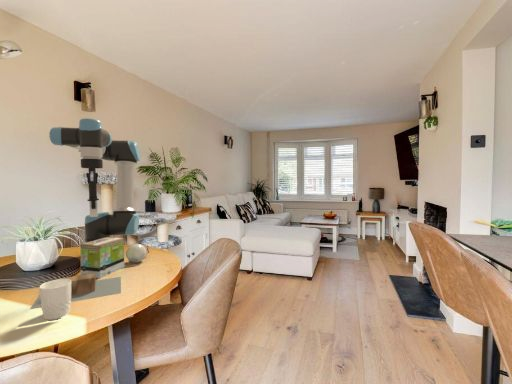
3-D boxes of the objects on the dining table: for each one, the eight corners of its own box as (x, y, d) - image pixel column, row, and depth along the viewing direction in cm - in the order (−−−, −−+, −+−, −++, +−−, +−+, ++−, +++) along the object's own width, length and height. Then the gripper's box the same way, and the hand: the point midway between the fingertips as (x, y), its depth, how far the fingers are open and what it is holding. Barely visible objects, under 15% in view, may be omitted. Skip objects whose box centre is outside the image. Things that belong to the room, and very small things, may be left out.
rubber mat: (120, 278, 113) (120, 276, 113) (121, 294, 97) (121, 292, 97) (43, 289, 101) (43, 288, 101) (29, 310, 85) (29, 309, 85)
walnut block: (95, 273, 103) (56, 279, 97) (94, 277, 98) (53, 283, 93) (95, 286, 103) (56, 292, 97) (94, 291, 98) (53, 297, 93)
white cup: (54, 308, 86) (53, 278, 86) (78, 309, 86) (77, 278, 86) (33, 321, 78) (32, 288, 78) (59, 322, 78) (58, 289, 78)
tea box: (100, 280, 111) (99, 245, 110) (80, 278, 113) (79, 243, 112) (125, 268, 125) (124, 237, 125) (106, 266, 127) (105, 236, 127)
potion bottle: (129, 268, 129) (140, 262, 144) (146, 256, 130) (155, 251, 145) (118, 253, 129) (130, 248, 144) (135, 240, 130) (145, 237, 145)
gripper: (81, 158, 111) (84, 215, 112) (79, 157, 100) (81, 219, 101) (102, 159, 115) (104, 213, 116) (102, 157, 103) (104, 218, 105)
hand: (94, 216), depth 109 cm, fingers closed
